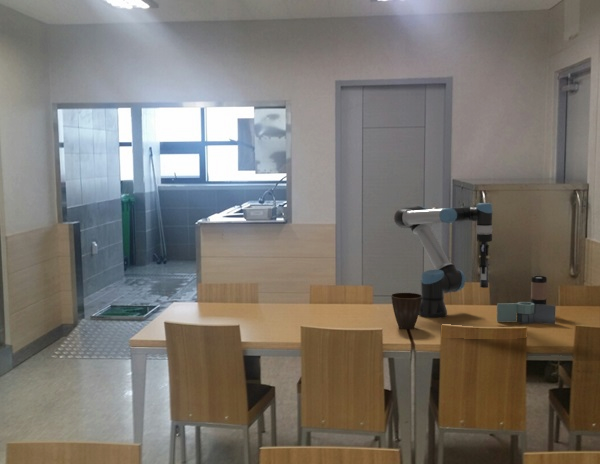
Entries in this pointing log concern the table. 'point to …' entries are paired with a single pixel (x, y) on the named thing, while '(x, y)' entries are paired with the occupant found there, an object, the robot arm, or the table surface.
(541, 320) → the hinge leaf fixed
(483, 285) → the hinge pin
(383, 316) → the table surface
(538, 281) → the travel mug
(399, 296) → the plant pot
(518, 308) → the hinge leaf swing
